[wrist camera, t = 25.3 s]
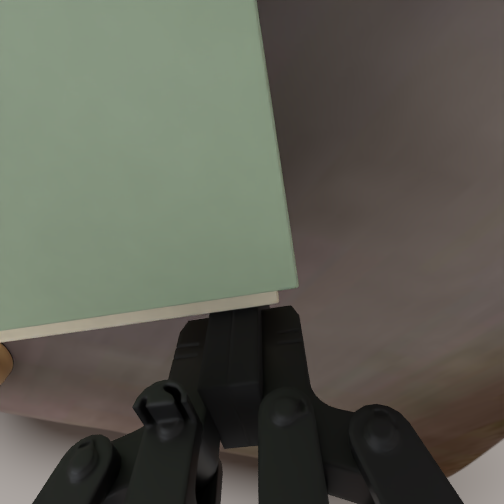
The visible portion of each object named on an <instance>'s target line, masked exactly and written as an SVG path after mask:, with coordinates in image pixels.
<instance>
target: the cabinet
mask: <svg viewBox="0 0 504 504" xmlns="http://www.w3.org/2000/svg"><path fill="white" fill-rule="evenodd" d="M298 285H299V283H298V276H297V269H296V263H295V256H294V249H293V242H292V236H291V229H290V222H289V216H288V209H287V202H286V195H285V189H284V182H283V175H282V169H281V162H280V155H279V148H278V142H277V135H276V128H275V121H274V115H273V108H272V101H271V95H270V88H269V81H268V74H267V68H266V61H265V54H264V47H263V41H262V34H261V27H260V21H259V14H258V7H257V0H0V331H4V330H11V329H18V328H25V327H31V326H38V325H45V324H52V323H59V322H66V321H73V320H80V319H87V318H93V317H100V316H107V315H114V314H121V313H128V312H135V311H142V310H149V309H155V308H162V307H169V306H176V305H183V304H190V303H197V302H204V301H211V300H217V299H224V298H231V297H238V296H245V295H252V294H259V293H266V292H273V291H279V290H286V289H293V288H297V287H298Z"/></svg>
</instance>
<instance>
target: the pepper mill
mask: <svg viewBox="0 0 504 504" xmlns="http://www.w3.org/2000/svg"><path fill="white" fill-rule="evenodd" d="M12 368H13V359H12V357H11V355H10V353H9V351H8V350H7V349H6V348H5V346H4V345H3V344H1V343H0V386H1V385H2V383H3V382H4V380H5V379H6V378H7V376H8V375H9V374H10V372H11V370H12Z"/></svg>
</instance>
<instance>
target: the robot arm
mask: <svg viewBox="0 0 504 504" xmlns="http://www.w3.org/2000/svg"><path fill="white" fill-rule="evenodd" d="M132 408H133V409H134V411H135V412H136V414H137V415H138V417H139V418H140V420H141V421H142V423H143V424H144V426H143V427H142V428H140V429H138V430H136V431H134V432H132V433H130V434H127V435H125V436H123V437H121V438H118V439H116V440H114V441H110V440H109V439H108V438H107V437H105V436H103V435H91V436H88V437H86V438H84V439H81V440H80V441H79V442H77V443H76V444H75V445H74V446H72V447H71V448H70V449H69V450H68V452H67V453H66V454H65V455H64V456H63V458H62V459H61V461H60V462H59V464H58V465H57V467H56V468H55V470H54V471H53V473H52V474H51V476H50V477H49V479H48V480H47V482H46V484H45V485H44V487H43V488H42V490H41V491H40V493H39V494H38V496H37V498H36V499H35V500H34V502H33V503H32V504H220V502H221V489H222V475H223V474H222V473H223V471H222V463H221V461H220V459H219V447H220V440H221V443H222V445H223V447H224V449H227V448H237V447H248V446H258V470H259V471H258V476H259V477H258V487H259V488H258V493H259V504H329V500H328V494H329V495H332V496H335V497H339V498H342V499H345V500H348V501H351V502H354V503H357V504H464V503H463V502H462V500H461V499H460V497H459V496H458V494H457V493H456V491H455V490H454V488H453V487H452V485H451V484H450V482H449V481H448V479H447V478H446V476H445V475H444V473H443V472H442V470H441V469H440V467H439V466H438V465H437V463H436V462H435V460H434V459H433V457H432V456H431V454H430V453H429V451H428V450H427V448H426V447H425V445H424V444H423V442H422V441H421V439H420V438H419V436H418V435H417V433H416V432H415V430H414V429H413V427H412V426H411V424H410V423H409V422H408V421H407V420H406V419H405V418H404V417H403V415H402V414H401V413H399V412H397V411H396V410H394V409H392V408H390V407H388V406H383V405H379V404H373V405H366V406H364V407H362V408H360V409H359V410H357V411H356V412H350V411H345V410H341V409H337V408H334V407H331V406H328V405H327V404H325V403H323V402H322V401H321V400H320V399H319V398H318V397H317V396H316V395H315V394H314V392H313V390H312V388H311V385H310V380H309V374H308V367H307V361H306V355H305V348H304V342H303V336H302V330H301V324H300V318H299V315H298V314H297V312H296V311H295V310H294V309H293V307H292V306H284V307H277V308H269V305H263V306H256V307H249V308H242V309H235V310H228V311H221V312H214V313H210V315H209V318H206V319H199V320H192V321H188V323H187V324H186V325H185V327H184V328H183V330H182V331H181V332H180V335H179V339H178V343H177V349H176V351H175V355H174V360H173V363H172V367H171V371H170V374H169V378H168V380H163V381H159V382H156V383H154V384H152V385H151V386H149V387H148V388H146V389H145V390H144V391H143V392H142V393H141V394H140V395H139V396H138V397H137V399H136V401H135V403H134V405H133V407H132Z"/></svg>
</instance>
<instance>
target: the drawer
mask: <svg viewBox="0 0 504 504" xmlns="http://www.w3.org/2000/svg"><path fill="white" fill-rule="evenodd" d="M278 302H279V294H278V291H273V292H266V293H259V294H252V295H245V296H238V297H231V298H224V299H217V300H211V301H204V302H197V303H190V304H183V305H176V306H169V307H162V308H155V309H149V310H142V311H135V312H128V313H121V314H114V315H107V316H100V317H93V318H87V319H80V320H73V321H66V322H59V323H52V324H45V325H38V326H31V327H25V328H18V329H11V330H4V331H0V343H1V342H8V341H15V340H22V339H29V338H37V337H44V336H51V335H58V334H65V333H72V332H79V331H86V330H93V329H100V328H107V327H115V326H122V325H129V324H136V323H143V322H150V321H157V320H164V319H171V318H178V317H185V316H193V315H200V314H207V313H214V312H221V311H228V310H235V309H242V308H249V307H256V306H263V305H271V304H277V303H278Z"/></svg>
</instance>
